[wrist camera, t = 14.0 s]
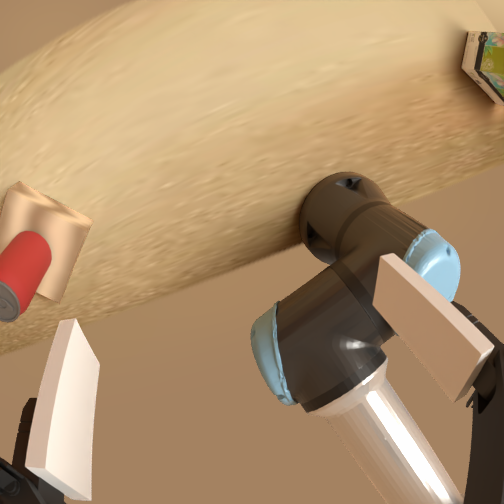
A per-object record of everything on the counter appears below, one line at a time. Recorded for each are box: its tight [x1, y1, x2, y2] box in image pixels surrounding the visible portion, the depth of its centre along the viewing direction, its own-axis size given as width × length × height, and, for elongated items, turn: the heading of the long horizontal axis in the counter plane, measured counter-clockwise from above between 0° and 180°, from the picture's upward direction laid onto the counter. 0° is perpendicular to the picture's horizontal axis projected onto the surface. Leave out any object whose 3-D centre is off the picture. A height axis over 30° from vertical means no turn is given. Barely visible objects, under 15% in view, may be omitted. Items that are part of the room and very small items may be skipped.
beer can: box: [0, 231, 52, 322], centre depth 30 cm, size 7×7×12 cm
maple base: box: [0, 181, 94, 304], centre depth 37 cm, size 13×13×4 cm
